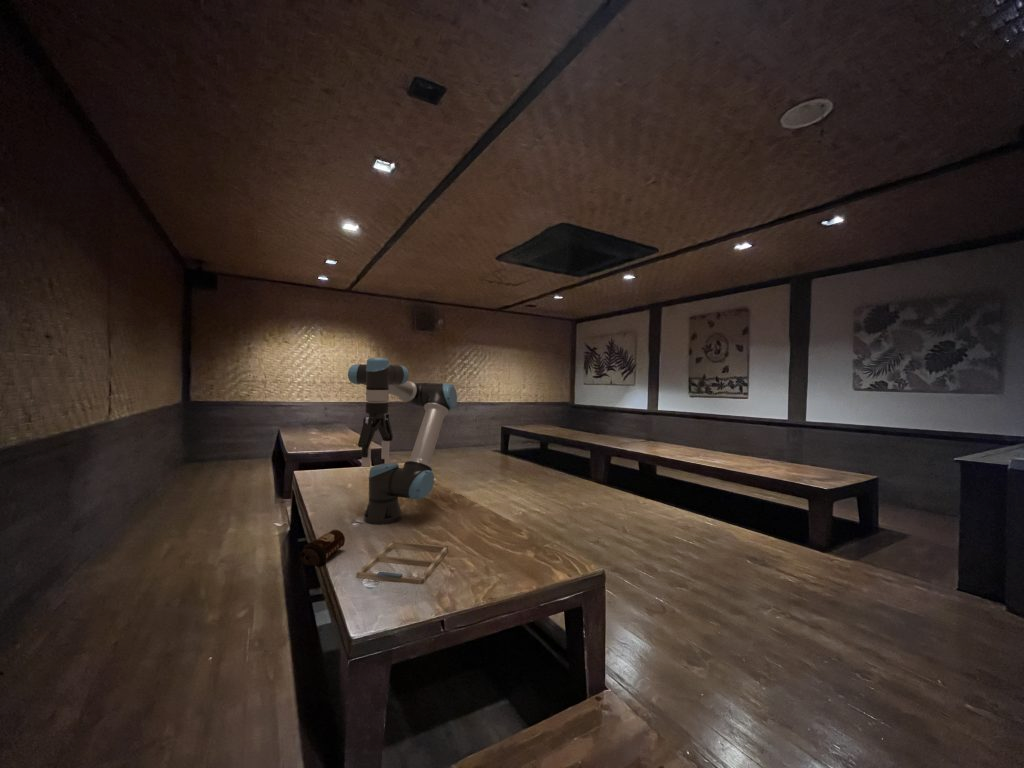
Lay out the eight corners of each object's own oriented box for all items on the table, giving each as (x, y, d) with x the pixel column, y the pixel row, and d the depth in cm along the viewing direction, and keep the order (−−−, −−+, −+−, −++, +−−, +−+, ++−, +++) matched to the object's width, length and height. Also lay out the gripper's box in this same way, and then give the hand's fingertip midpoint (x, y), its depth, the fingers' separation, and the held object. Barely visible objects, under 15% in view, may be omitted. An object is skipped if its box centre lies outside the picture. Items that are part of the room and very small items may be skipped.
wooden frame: (392, 547, 136) (392, 539, 136) (447, 552, 133) (448, 544, 133) (355, 580, 113) (355, 571, 113) (421, 587, 110) (422, 578, 110)
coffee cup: (322, 529, 133) (293, 549, 121) (341, 522, 131) (313, 542, 119) (332, 552, 134) (304, 575, 121) (352, 546, 132) (325, 568, 119)
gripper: (384, 400, 151) (383, 455, 151) (347, 403, 126) (346, 469, 126) (402, 400, 150) (401, 456, 150) (368, 404, 125) (367, 471, 125)
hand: (376, 462), depth 138 cm, fingers open, 13 cm apart
